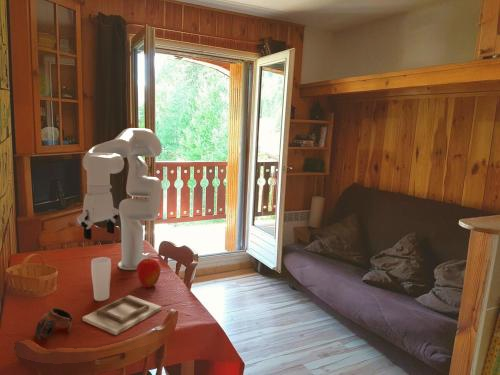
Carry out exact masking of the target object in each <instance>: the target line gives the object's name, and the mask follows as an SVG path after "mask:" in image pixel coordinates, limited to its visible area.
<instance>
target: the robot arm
mask: <svg viewBox="0 0 500 375" xmlns="http://www.w3.org/2000/svg"><path fill="white" fill-rule="evenodd" d="M162 147H163V146H162V143H161V140H160V139H159V137H158V136H157V135H156V133H154V131H152V130H151V129H149V128H136V127H133V128H132V127H129V128H126V129H125V128H124V129H123V130H122V131H121V132H120V133H119V134H118V135H117V136H116V137H115V138H114V139H112V140H109V141H105V142H102V143H99V144H96V145H94V146H92V147H91V148H90V149H89V150H88V151H87V152H86V153H85V155H84V156H83V159H82V167H83V168H84V170H85V171H86V184H87V185H86V188H87V189H86V190H87V193H85V195H84V198H83V206H82V213H81V214H79V215H78V216H77V217H76V220H77V223H78V225H79V226H80V227H81V228H82V229H83V237H84V239H85V240H88V241H91V240H92V239H93V238H92V233H93V232H92V231H93V230H92V228H91V227H92V225H93V224H94V223H99V222H103V221H107V223H106V233H108V234H112V235H113V234H115V223H116V222H117V219H118V217H120V224H121V225H120V228H121V234H120V235H121V260H120V261H119V262H118V263H117V264H118V265H117V267H118V268H119V269H121V270H123V271H137V266H138V264H139V263H140V262H141V261H142V260H144V259H148V258H149V257H151V253H150V252H147V253H144V228H143V225H142V223H141V222H140V221H155V220H157V219H158V217H159V213H160V206H161V199H162V190H163V186H162V181H161V179H160V178H158V177H155V176H148V172H149V167H148V165H147V163H146V161H145V160H144V159H143V158H142V157H147V158H148V157H149V158H157V157H159V156H160V155H161V154H162V151H163V148H162ZM125 158H127V161H128V167H129V170H128V174H127V181H126V186H125V192H126V194H127V195H128V196H130V197H138V198H125V199H123V200H121V201H120V203H119V205H118V208H116V207H114V199H113V194H112V192H111V189H112V188H113V187H112V186H113V185H111V174H113V175H114V174H119V173H121V172H122V171H123V170H124V166H125V161H124V160H125ZM145 198H149V199H145Z"/></svg>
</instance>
